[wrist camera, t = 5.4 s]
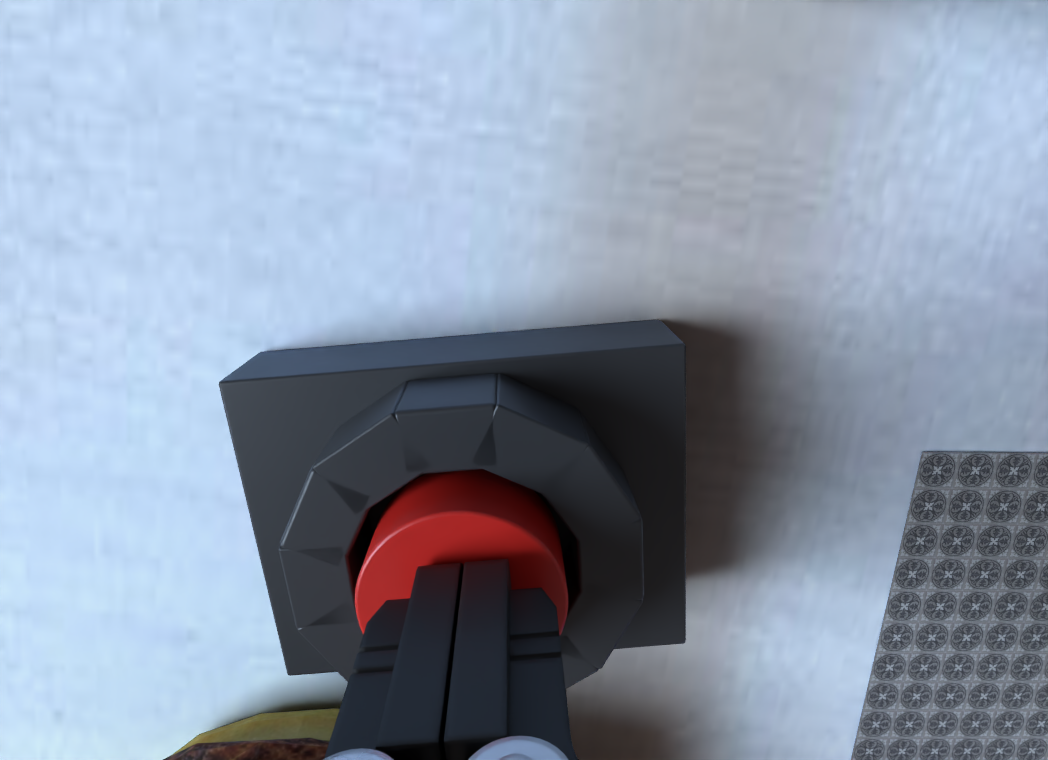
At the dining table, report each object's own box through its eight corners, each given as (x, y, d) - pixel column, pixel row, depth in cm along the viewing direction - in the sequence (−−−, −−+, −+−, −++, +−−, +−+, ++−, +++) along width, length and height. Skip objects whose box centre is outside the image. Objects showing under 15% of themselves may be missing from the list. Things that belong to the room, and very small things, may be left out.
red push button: (388, 633, 13) (371, 701, 11) (360, 472, 12) (336, 521, 10) (565, 618, 13) (574, 684, 11) (554, 456, 12) (562, 503, 10)
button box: (314, 612, 16) (257, 745, 13) (259, 351, 14) (168, 415, 11) (663, 584, 16) (710, 708, 13) (660, 318, 14) (715, 371, 11)
